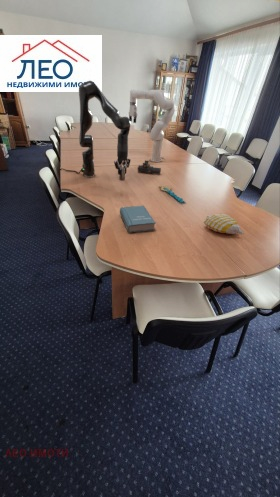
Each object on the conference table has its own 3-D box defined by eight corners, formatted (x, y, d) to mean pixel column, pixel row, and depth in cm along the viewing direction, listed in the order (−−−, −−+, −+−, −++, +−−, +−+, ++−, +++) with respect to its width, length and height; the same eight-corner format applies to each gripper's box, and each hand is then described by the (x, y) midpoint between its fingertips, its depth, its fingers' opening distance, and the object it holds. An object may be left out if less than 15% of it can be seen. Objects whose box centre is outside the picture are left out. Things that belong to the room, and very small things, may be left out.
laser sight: (159, 175, 211) (160, 165, 205) (136, 173, 213) (137, 162, 208) (160, 172, 218) (161, 162, 212) (138, 170, 221) (139, 159, 215)
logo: (158, 186, 187) (158, 185, 187) (168, 186, 190) (168, 185, 189) (173, 203, 162) (174, 202, 161) (185, 203, 164) (186, 201, 164)
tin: (119, 180, 165) (119, 168, 160) (119, 178, 168) (119, 166, 163) (125, 180, 166) (125, 168, 160) (124, 178, 169) (124, 166, 164)
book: (154, 230, 131) (155, 222, 128) (128, 232, 126) (128, 225, 124) (143, 212, 148) (143, 205, 145) (119, 214, 144) (120, 207, 141)
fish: (254, 225, 128) (232, 232, 118) (249, 236, 132) (228, 244, 123) (221, 208, 144) (199, 213, 134) (217, 218, 149) (196, 224, 139)
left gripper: (117, 152, 148) (117, 177, 158) (133, 149, 156) (132, 174, 167) (111, 149, 152) (111, 174, 163) (127, 147, 160) (126, 171, 171)
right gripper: (140, 104, 233) (139, 123, 244) (132, 103, 245) (131, 121, 255) (134, 104, 230) (133, 123, 240) (126, 103, 242) (126, 121, 252)
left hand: (122, 174), depth 165 cm, fingers closed on tin, 4 cm apart
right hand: (132, 122), depth 248 cm, fingers open, 9 cm apart
